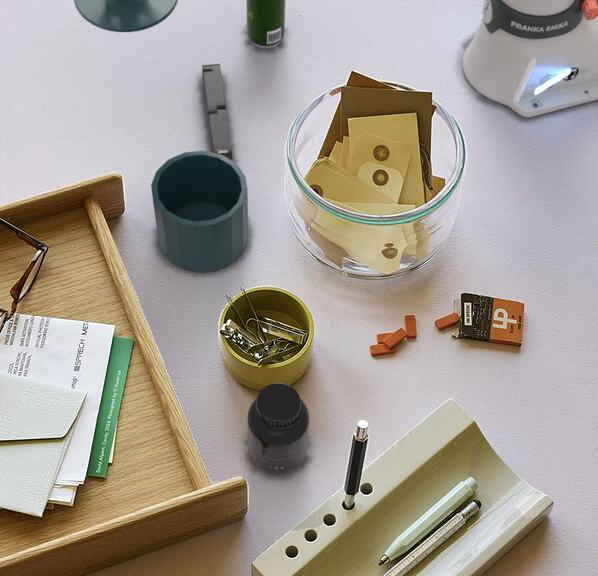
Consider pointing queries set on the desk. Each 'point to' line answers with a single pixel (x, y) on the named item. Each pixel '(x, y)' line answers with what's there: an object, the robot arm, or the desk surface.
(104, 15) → the lid
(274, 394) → the supplement bottle
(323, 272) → the desk surface
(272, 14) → the beer can
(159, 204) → the tin
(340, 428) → the desk surface
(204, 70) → the grey notched bar
